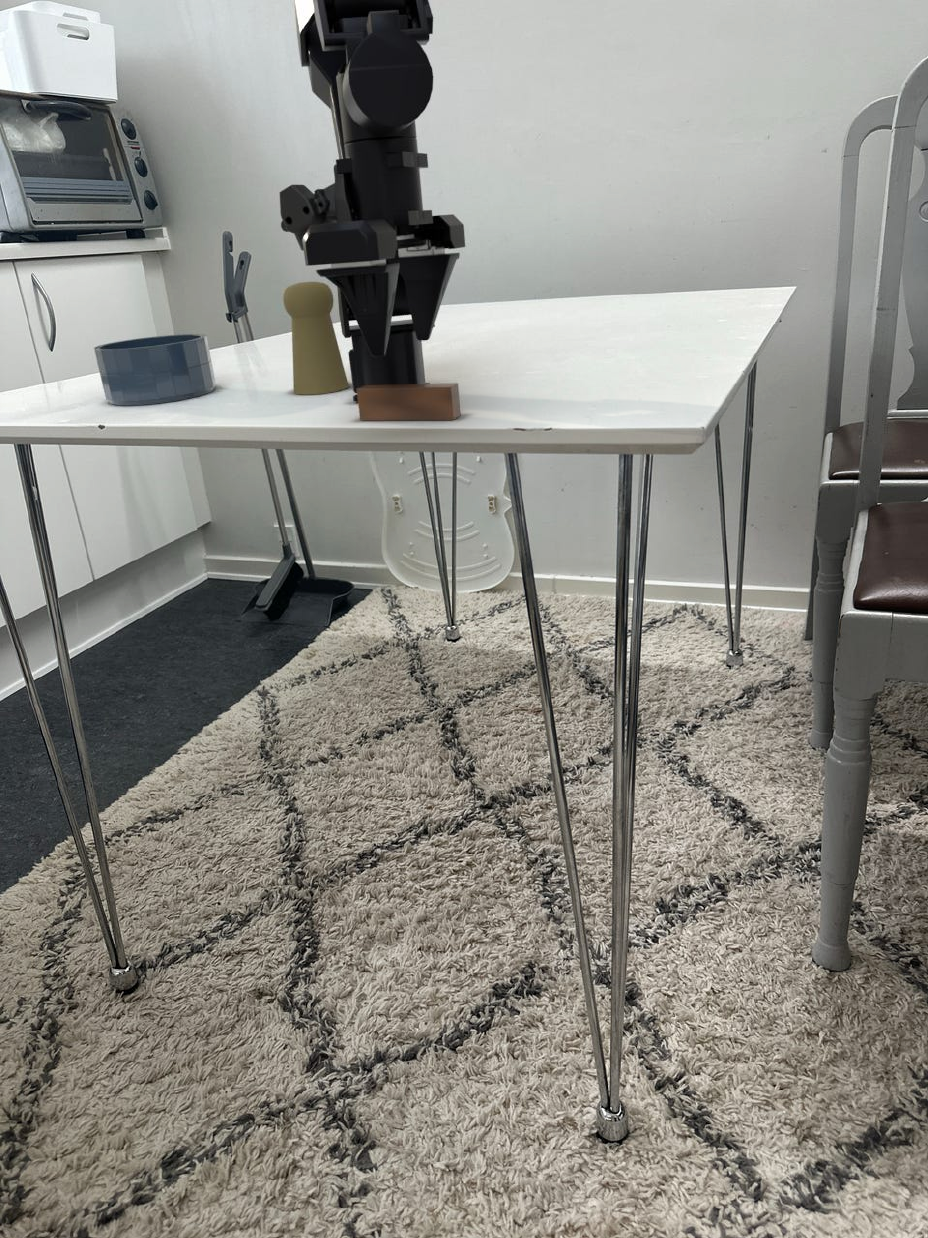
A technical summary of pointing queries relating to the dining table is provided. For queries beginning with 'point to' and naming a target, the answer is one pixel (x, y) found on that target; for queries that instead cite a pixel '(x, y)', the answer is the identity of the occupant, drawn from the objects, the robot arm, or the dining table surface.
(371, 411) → the walnut wood brick
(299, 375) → the cork
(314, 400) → the dining table surface
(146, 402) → the bowl
